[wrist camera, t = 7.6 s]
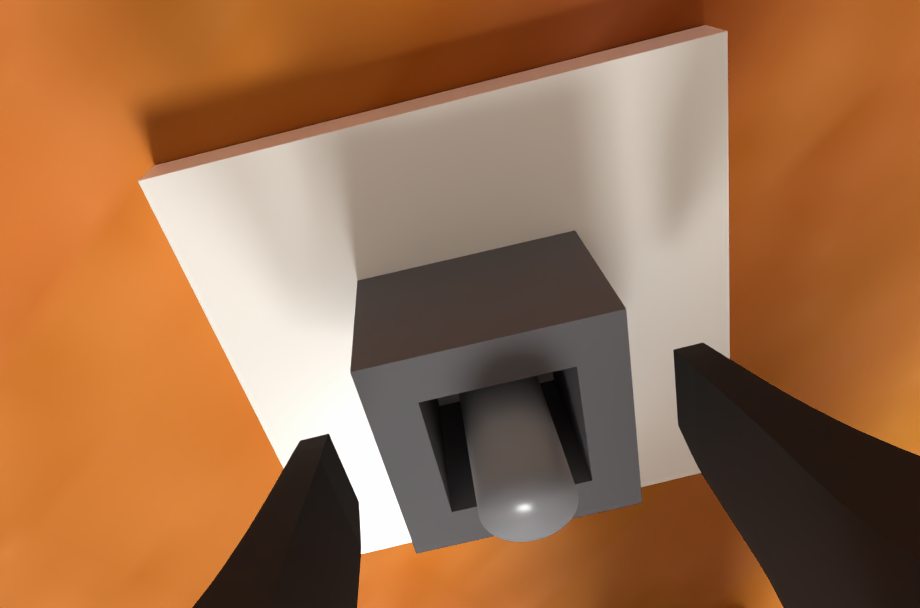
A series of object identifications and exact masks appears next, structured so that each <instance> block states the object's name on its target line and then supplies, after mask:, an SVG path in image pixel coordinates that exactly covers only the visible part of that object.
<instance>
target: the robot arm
mask: <svg viewBox="0 0 920 608" xmlns="http://www.w3.org/2000/svg"><path fill="white" fill-rule="evenodd" d="M673 353H674V369H675V385H676V401H677V417H678V426H679V428H680V431H681V433H682V435H683V437H684V439H685V441H686V443H687V446H688V448H689V450H690V452H691V454H692V456H693V458H694V460H695V462H696V464H697V466H698V468H699V470H700V471H701V473H702V475H703V476H704V478H705V479H706V481H707V483H708V484H709V486H710V487H711V489H712V490H713V492H714V494H715V495H716V497H717V498H718V500H719V501H720V503H721V504H722V506H723V508H724V509H725V511H726V512H727V514H728V515H729V517H730V518H731V520H732V521H733V523H734V525H735V526H736V528H737V529H738V531H739V532H740V534H741V535H742V537H743V538H744V540H745V542H746V543H747V545H748V546H749V548H750V549H751V551H752V552H753V554H754V556H755V557H756V559H757V560H758V562H759V563H760V565H761V567H762V569H763V570H764V572H765V574H766V575H767V577H768V579H769V580H770V582H771V584H772V586H773V588H774V590H775V592H776V594H777V596H778V598H779V599H780V601H781V603H782V605H783V607H784V608H920V456H918V455H916V454H913V453H911V452H908V451H906V450H903V449H900V448H898V447H896V446H893V445H891V444H889V443H886V442H884V441H882V440H879V439H877V438H875V437H872V436H870V435H868V434H865V433H863V432H861V431H859V430H856V429H854V428H852V427H850V426H848V425H846V424H844V423H842V422H840V421H838V420H836V419H834V418H832V417H830V416H828V415H826V414H824V413H822V412H820V411H818V410H816V409H814V408H812V407H810V406H808V405H806V404H805V403H803V402H801V401H799V400H797V399H795V398H794V397H792V396H790V395H788V394H787V393H785V392H783V391H781V390H780V389H778V388H776V387H774V386H773V385H771V384H769V383H768V382H766V381H764V380H763V379H761V378H759V377H758V376H756V375H754V374H753V373H751V372H750V371H748V370H746V369H745V368H743V367H742V366H740V365H738V364H737V363H735V362H734V361H732V360H730V359H729V358H727V357H726V356H724V355H722V354H721V353H719V352H718V351H716V350H714V349H713V348H711V347H710V346H708V345H706V344H705V343H699V344H695V345H690V346H686V347H682V348H678V349H674V350H673ZM360 559H361V530H360V512H359V501H358V499H357V496H356V494H355V492H354V490H353V487H352V485H351V483H350V481H349V478H348V476H347V474H346V471H345V469H344V467H343V465H342V462H341V460H340V458H339V455H338V453H337V451H336V449H335V446H334V444H333V442H332V440H331V437H330V435H329V434H325V435H321V436H317V437H313V438H308V439H304V440H300V442H299V443H298V445H297V446H296V448H295V450H294V452H293V453H292V455H291V457H290V459H289V460H288V462H287V464H286V466H285V467H284V469H283V471H282V473H281V475H280V476H279V478H278V480H277V482H276V483H275V485H274V487H273V489H272V490H271V492H270V494H269V496H268V497H267V499H266V501H265V502H264V504H263V506H262V507H261V509H260V511H259V512H258V514H257V516H256V517H255V519H254V521H253V522H252V524H251V526H250V527H249V529H248V530H247V532H246V534H245V535H244V537H243V538H242V540H241V541H240V543H239V544H238V546H237V547H236V549H235V550H234V552H233V553H232V555H231V556H230V558H229V559H228V561H227V562H226V564H225V565H224V567H223V568H222V569H221V571H220V572H219V574H218V575H217V576H216V578H215V579H214V581H213V582H212V583H211V585H210V586H209V587H208V589H207V590H206V591H205V592H204V594H203V595H202V596H201V597H200V599H199V600H198V601H197V602H196V604H195V605H194V606H193V608H357V599H358V587H359V573H360Z"/></svg>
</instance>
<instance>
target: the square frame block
mask: <svg viewBox="0 0 920 608" xmlns="http://www.w3.org/2000/svg"><path fill="white" fill-rule="evenodd" d="M550 372H553V377H554V380H551V381H547V382H543V383H540V386H541V388H542V391H543V394H544V397H545V400H546V403H547V406H548V409H549V411H550V414H551V417H552V420H553V423H554V426H555V429H556V432H557V434H558V437H559V440H560V443H561V446H562V449H563V452H564V455H565V457H566V460H567V463H568V466H569V469H570V472H571V475H572V478H573V480H574V483H575V486H576V489H577V492H578V497H579V502H578V507H577V510H576V513H575V514H574V516H573V518H577V517H581V516H586V515H590V514H595V513H599V512H603V511H608V510H612V509H617V508H621V507H626V506H630V505H635V504H639V503H642V494H641V481H640V469H639V457H638V445H637V433H636V421H635V409H634V397H633V384H632V372H631V360H630V348H629V336H628V324H627V312H626V308H625V306H624V305H623V303H622V302H621V300H620V298H619V297H618V295H617V294H616V292H615V291H614V289H613V288H612V286H611V285H610V283H609V282H608V280H607V279H606V277H605V275H604V274H603V272H602V271H601V269H600V268H599V266H598V265H597V263H596V262H595V260H594V259H593V257H592V255H591V254H590V252H589V251H588V249H587V248H586V246H585V245H584V243H583V242H582V240H581V239H580V237H579V236H578V234H577V232H576V231H575V230H574V231H570V232H566V233H561V234H557V235H553V236H548V237H544V238H540V239H535V240H531V241H527V242H522V243H518V244H514V245H509V246H505V247H501V248H496V249H492V250H488V251H483V252H479V253H475V254H470V255H466V256H462V257H457V258H453V259H449V260H445V261H440V262H436V263H432V264H427V265H423V266H419V267H414V268H410V269H406V270H401V271H397V272H393V273H388V274H384V275H380V276H375V277H371V278H367V279H362V280H358V281H357V292H356V305H355V317H354V330H353V342H352V355H351V368H350V373H351V376H352V379H353V381H354V384H355V387H356V390H357V392H358V395H359V398H360V401H361V403H362V406H363V409H364V411H365V414H366V417H367V420H368V422H369V425H370V428H371V431H372V433H373V436H374V439H375V442H376V444H377V447H378V450H379V453H380V455H381V458H382V461H383V463H384V466H385V469H386V472H387V474H388V477H389V480H390V483H391V485H392V488H393V491H394V494H395V496H396V499H397V502H398V505H399V507H400V510H401V513H402V515H403V518H404V521H405V524H406V526H407V529H408V532H409V535H410V537H411V540H412V543H413V546H414V548H415V551H416V554H417V553H421V552H426V551H430V550H434V549H439V548H443V547H448V546H452V545H457V544H461V543H466V542H470V541H474V540H479V539H483V538H488V537H492V536H494V535H492V534H491V533H489V532H488V531H487V530H486V529H485V528H484V527H483V525H482V523H481V521H480V519H479V514H478V508H477V502H476V496H475V489H474V483H473V477H472V471H471V465H470V459H469V453H468V446H467V440H466V434H465V428H464V422H463V416H462V410H461V403H460V401H459V402H455V403H451V404H446V405H442V406H439V403H438V399H437V398H441V397H445V396H450V395H454V394H458V393H463V392H467V391H472V390H476V389H480V388H485V387H489V386H493V385H498V384H502V383H507V382H511V381H515V380H520V379H524V378H529V377H533V376H537V375H542V374H546V373H550Z"/></svg>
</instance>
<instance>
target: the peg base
mask: <svg viewBox="0 0 920 608" xmlns="http://www.w3.org/2000/svg"><path fill="white" fill-rule="evenodd" d="M138 182H139V184H140V186H141V188H142V190H143V192H144V194H145V196H146V198H147V200H148V202H149V204H150V206H151V208H152V210H153V212H154V214H155V216H156V218H157V220H158V222H159V224H160V226H161V228H162V229H163V231H164V233H165V235H166V237H167V239H168V241H169V243H170V245H171V247H172V249H173V251H174V253H175V255H176V257H177V259H178V261H179V263H180V265H181V267H182V269H183V271H184V273H185V275H186V277H187V279H188V281H189V283H190V285H191V287H192V289H193V291H194V293H195V295H196V297H197V299H198V301H199V302H200V304H201V306H202V308H203V310H204V312H205V314H206V316H207V318H208V320H209V322H210V324H211V326H212V328H213V330H214V332H215V334H216V336H217V338H218V340H219V342H220V344H221V346H222V348H223V350H224V352H225V354H226V356H227V358H228V360H229V362H230V364H231V366H232V368H233V370H234V372H235V373H236V375H237V377H238V379H239V381H240V383H241V385H242V387H243V389H244V391H245V393H246V395H247V397H248V399H249V401H250V403H251V405H252V407H253V409H254V411H255V413H256V415H257V417H258V419H259V421H260V423H261V425H262V427H263V429H264V431H265V433H266V435H267V437H268V439H269V441H270V443H271V444H272V446H273V448H274V450H275V452H276V454H277V456H278V458H279V460H280V462H281V464H282V466H283V468H284V467H285V466H286V464H287V462H288V460H289V459H290V457H291V455H292V453H293V452H294V450H295V448H296V446H297V445H298V443H299V442H300V440H304V439H308V438H313V437H317V436H321V435H325V434H329V435H330V437H331V440H332V442H333V444H334V446H335V449H336V451H337V453H338V455H339V458H340V460H341V462H342V465H343V467H344V469H345V471H346V474H347V476H348V478H349V481H350V483H351V485H352V487H353V490H354V492H355V494H356V496H357V499H358V501H359V512H360V530H361V554H364V553H368V552H372V551H376V550H380V549H385V548H389V547H393V546H397V545H401V544H406V543H410V542H412V540H411V537H410V535H409V532H408V529H407V526H406V524H405V521H404V518H403V515H402V513H401V510H400V507H399V505H398V502H397V499H396V496H395V494H394V491H393V488H392V485H391V483H390V480H389V477H388V474H387V472H386V469H385V466H384V463H383V461H382V458H381V455H380V453H379V450H378V447H377V444H376V442H375V439H374V436H373V433H372V431H371V428H370V425H369V422H368V420H367V417H366V414H365V411H364V409H363V406H362V403H361V401H360V398H359V395H358V392H357V390H356V387H355V384H354V381H353V379H352V376H351V373H350V368H351V355H352V342H353V330H354V317H355V305H356V292H357V281H358V280H362V279H367V278H371V277H375V276H380V275H384V274H388V273H393V272H397V271H401V270H406V269H410V268H414V267H419V266H423V265H427V264H432V263H436V262H440V261H445V260H449V259H453V258H457V257H462V256H466V255H470V254H475V253H479V252H483V251H488V250H492V249H496V248H501V247H505V246H509V245H514V244H518V243H522V242H527V241H531V240H535V239H540V238H544V237H548V236H553V235H557V234H561V233H566V232H570V231H574V230H575V231H576V232H577V234H578V236H579V237H580V239H581V240H582V242H583V243H584V245H585V246H586V248H587V249H588V251H589V252H590V254H591V255H592V257H593V259H594V260H595V262H596V263H597V265H598V266H599V268H600V269H601V271H602V272H603V274H604V275H605V277H606V279H607V280H608V282H609V283H610V285H611V286H612V288H613V289H614V291H615V292H616V294H617V295H618V297H619V298H620V300H621V302H622V303H623V305H624V306H625V308H626V312H627V324H628V336H629V348H630V360H631V372H632V384H633V397H634V409H635V421H636V433H637V445H638V457H639V469H640V481H641V487H644V486H649V485H653V484H657V483H661V482H665V481H670V480H674V479H678V478H682V477H686V476H690V475H695V474H699V473H701V471H700V470H699V468H698V466H697V464H696V462H695V460H694V458H693V456H692V454H691V452H690V450H689V448H688V446H687V443H686V441H685V439H684V437H683V435H682V433H681V431H680V428H679V426H678V417H677V401H676V385H675V369H674V353H673V350H674V349H678V348H682V347H686V346H690V345H695V344H699V343H705V344H706V345H708V346H710V347H711V348H713V349H714V350H716V351H718V352H719V353H721V354H722V355H724V356H726V357H727V358H729V359H730V308H729V157H728V31H726V30H722V29H719V28H715V27H711V26H708V25H703V26H699V27H695V28H691V29H687V30H684V31H680V32H676V33H672V34H668V35H664V36H660V37H656V38H652V39H648V40H644V41H640V42H636V43H633V44H629V45H625V46H621V47H617V48H613V49H609V50H605V51H601V52H597V53H593V54H589V55H586V56H582V57H578V58H574V59H570V60H566V61H562V62H558V63H554V64H550V65H546V66H542V67H538V68H535V69H531V70H527V71H523V72H519V73H515V74H511V75H507V76H503V77H499V78H495V79H491V80H488V81H484V82H480V83H476V84H472V85H468V86H464V87H460V88H456V89H452V90H448V91H444V92H440V93H437V94H433V95H429V96H425V97H421V98H417V99H413V100H409V101H405V102H401V103H397V104H393V105H390V106H386V107H382V108H378V109H374V110H370V111H366V112H362V113H358V114H354V115H350V116H346V117H342V118H339V119H335V120H331V121H327V122H323V123H319V124H315V125H311V126H307V127H303V128H299V129H295V130H292V131H288V132H284V133H280V134H276V135H272V136H268V137H264V138H260V139H256V140H252V141H248V142H244V143H241V144H237V145H233V146H229V147H225V148H221V149H217V150H213V151H209V152H205V153H201V154H197V155H194V156H190V157H186V158H182V159H178V160H174V161H170V162H166V163H162V164H158V165H154V166H153V167H152V168H151V169H150V170H149V171H148V172H147V173H146V174H145V175H144V176H143V177H142V178H141V179H140V180H139V181H138ZM551 380H554V377H553V372H550V373H546V374H542V375H537V376H533V377H529V378H524V379H520V380H515V381H511V382H507V383H502V384H498V385H493V386H489V387H485V388H480V389H476V390H472V391H467V392H463V393H458V394H454V395H450V396H445V397H441V398H437V399H438V403H439V406H442V405H446V404H451V403H455V402H459V401H460V403H461V410H462V416H463V422H464V428H465V434H466V440H467V446H468V453H469V459H470V465H471V471H472V477H473V483H474V489H475V496H476V502H477V508H478V514H479V519H480V521H481V523H482V525H483V527H484V528H485V529H486V530H487V531H488V532H489V533H491V534H492V535H494V536H496V537H498V538H500V539H503V540H507V541H514V542H527V541H534V540H538V539H542V538H545V537H547V536H550V535H552V534H554V533H556V532H557V531H559V530H560V529H562V528H563V527H564V526H565V525H566V524H567V523H569V521H570V520H571V519H572V518H573V516H574V514H575V513H576V510H577V507H578V502H579V497H578V492H577V489H576V486H575V483H574V480H573V478H572V475H571V472H570V469H569V466H568V463H567V460H566V457H565V455H564V452H563V449H562V446H561V443H560V440H559V437H558V434H557V432H556V429H555V426H554V423H553V420H552V417H551V414H550V411H549V409H548V406H547V403H546V400H545V397H544V394H543V391H542V388H541V386H540V383H543V382H547V381H551Z"/></svg>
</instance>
